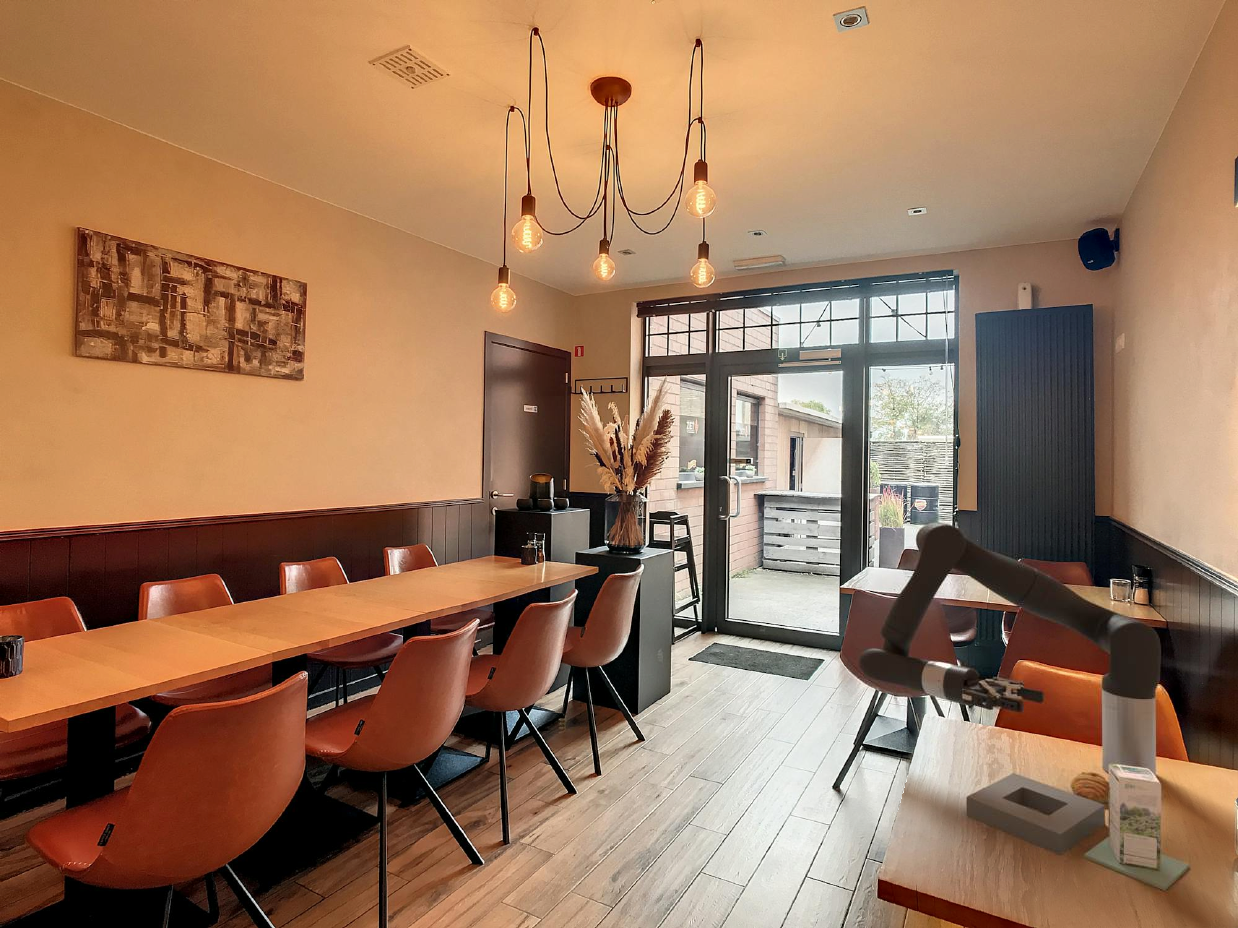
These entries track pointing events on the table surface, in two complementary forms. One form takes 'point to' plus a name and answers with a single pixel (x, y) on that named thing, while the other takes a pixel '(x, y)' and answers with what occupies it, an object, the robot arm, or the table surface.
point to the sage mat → (1156, 878)
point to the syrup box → (1135, 816)
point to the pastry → (1091, 787)
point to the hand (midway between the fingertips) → (1033, 702)
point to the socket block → (1053, 832)
